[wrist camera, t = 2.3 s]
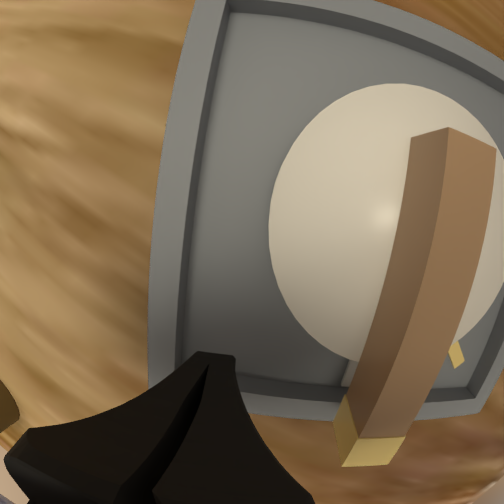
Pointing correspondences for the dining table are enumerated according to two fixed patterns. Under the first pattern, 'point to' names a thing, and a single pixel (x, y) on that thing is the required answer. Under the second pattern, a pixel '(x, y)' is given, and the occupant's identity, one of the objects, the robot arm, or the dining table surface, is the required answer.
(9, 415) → the cork
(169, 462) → the robot arm
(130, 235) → the dining table surface
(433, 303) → the dial
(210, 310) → the slate tray
